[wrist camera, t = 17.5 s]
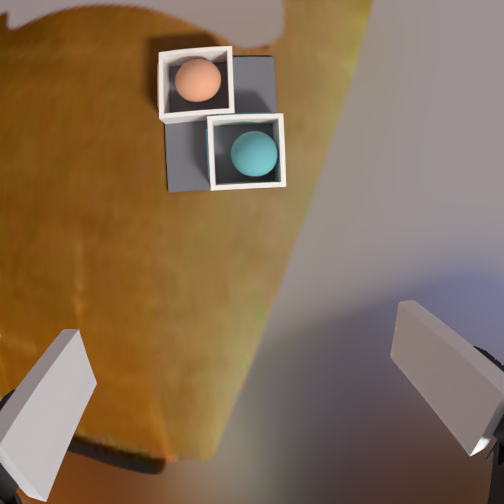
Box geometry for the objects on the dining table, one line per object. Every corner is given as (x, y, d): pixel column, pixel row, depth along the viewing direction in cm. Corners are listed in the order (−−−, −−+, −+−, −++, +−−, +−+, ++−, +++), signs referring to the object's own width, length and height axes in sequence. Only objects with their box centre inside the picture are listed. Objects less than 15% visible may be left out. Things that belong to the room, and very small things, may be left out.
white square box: (163, 63, 32) (157, 51, 28) (230, 57, 32) (231, 44, 28) (164, 124, 34) (157, 119, 30) (233, 119, 34) (234, 112, 30)
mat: (164, 63, 32) (164, 62, 31) (273, 58, 33) (273, 57, 32) (169, 192, 36) (168, 192, 36) (279, 185, 37) (280, 185, 37)
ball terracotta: (178, 73, 32) (172, 53, 27) (220, 69, 33) (219, 49, 28) (178, 110, 33) (171, 94, 28) (222, 106, 33) (221, 90, 28)
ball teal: (222, 134, 33) (242, 127, 29) (262, 134, 36) (285, 129, 31) (225, 178, 35) (245, 177, 30) (264, 176, 37) (287, 175, 32)
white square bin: (207, 120, 34) (205, 114, 30) (275, 118, 35) (282, 111, 31) (210, 188, 36) (208, 190, 32) (278, 184, 37) (286, 186, 33)
